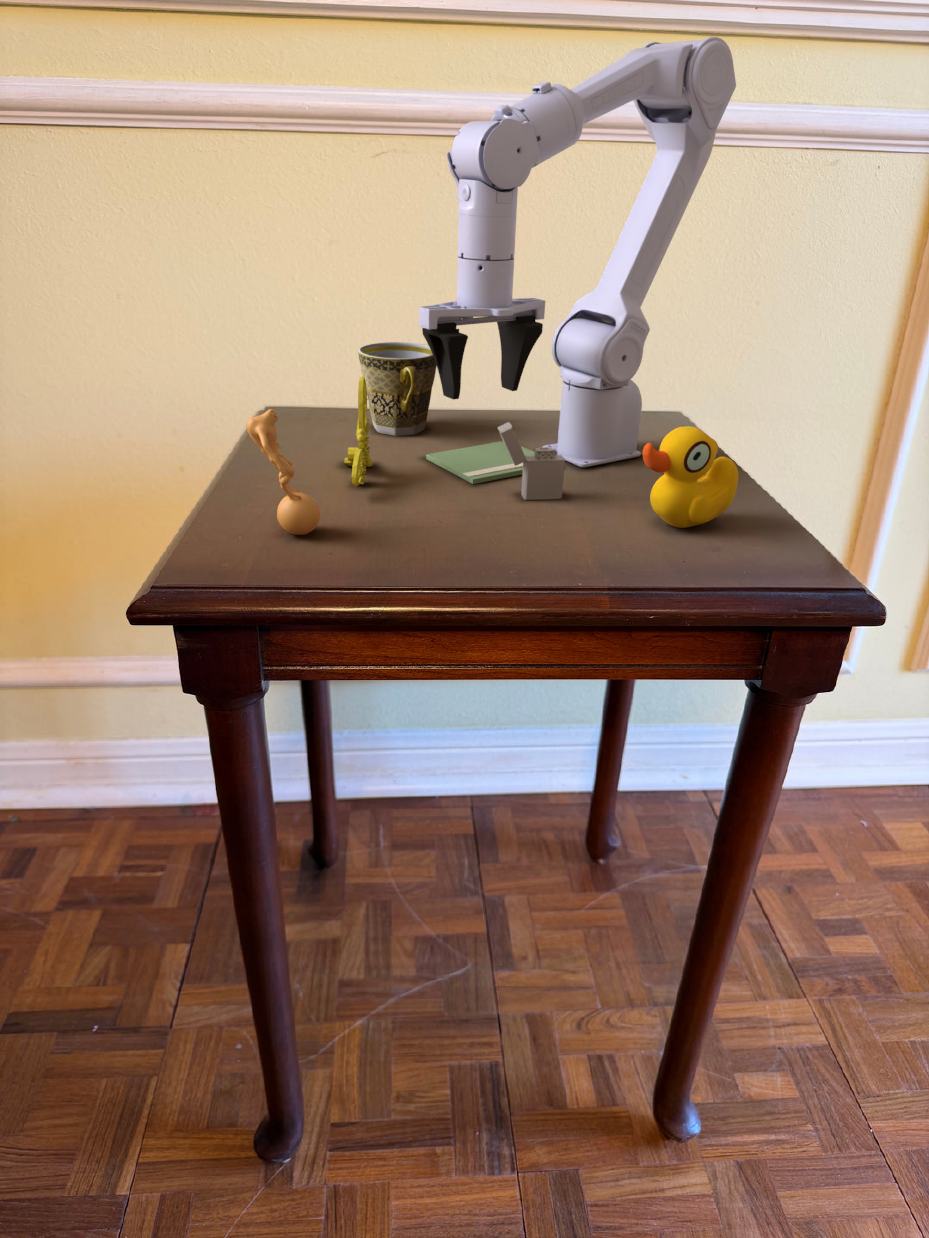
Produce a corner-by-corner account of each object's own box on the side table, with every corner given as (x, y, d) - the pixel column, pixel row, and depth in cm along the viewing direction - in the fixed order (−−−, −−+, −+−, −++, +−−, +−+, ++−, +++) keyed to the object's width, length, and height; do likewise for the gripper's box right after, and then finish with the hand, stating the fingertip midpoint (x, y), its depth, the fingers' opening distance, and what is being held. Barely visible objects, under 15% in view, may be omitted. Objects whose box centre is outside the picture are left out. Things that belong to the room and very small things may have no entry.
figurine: (327, 549, 80) (320, 419, 75) (260, 554, 79) (247, 423, 73) (315, 515, 87) (308, 395, 82) (253, 520, 86) (242, 398, 80)
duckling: (650, 543, 84) (664, 441, 79) (618, 523, 88) (630, 425, 83) (743, 526, 88) (762, 429, 83) (709, 508, 92) (725, 414, 88)
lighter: (558, 492, 95) (564, 420, 91) (562, 498, 94) (568, 424, 90) (493, 495, 94) (497, 421, 90) (496, 500, 93) (500, 426, 89)
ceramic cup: (353, 420, 118) (351, 343, 113) (425, 415, 120) (426, 340, 116) (374, 449, 107) (372, 365, 102) (453, 444, 109) (455, 362, 105)
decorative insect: (370, 524, 99) (362, 481, 90) (341, 524, 99) (330, 480, 90) (377, 425, 103) (369, 374, 94) (349, 424, 103) (339, 373, 94)
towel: (507, 444, 110) (508, 439, 110) (558, 467, 103) (558, 461, 102) (425, 459, 104) (425, 453, 104) (472, 484, 97) (473, 478, 96)
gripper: (446, 265, 82) (443, 410, 88) (567, 259, 89) (556, 393, 95) (408, 257, 87) (408, 394, 93) (525, 251, 94) (518, 379, 101)
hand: (480, 393), depth 95 cm, fingers open, 7 cm apart
